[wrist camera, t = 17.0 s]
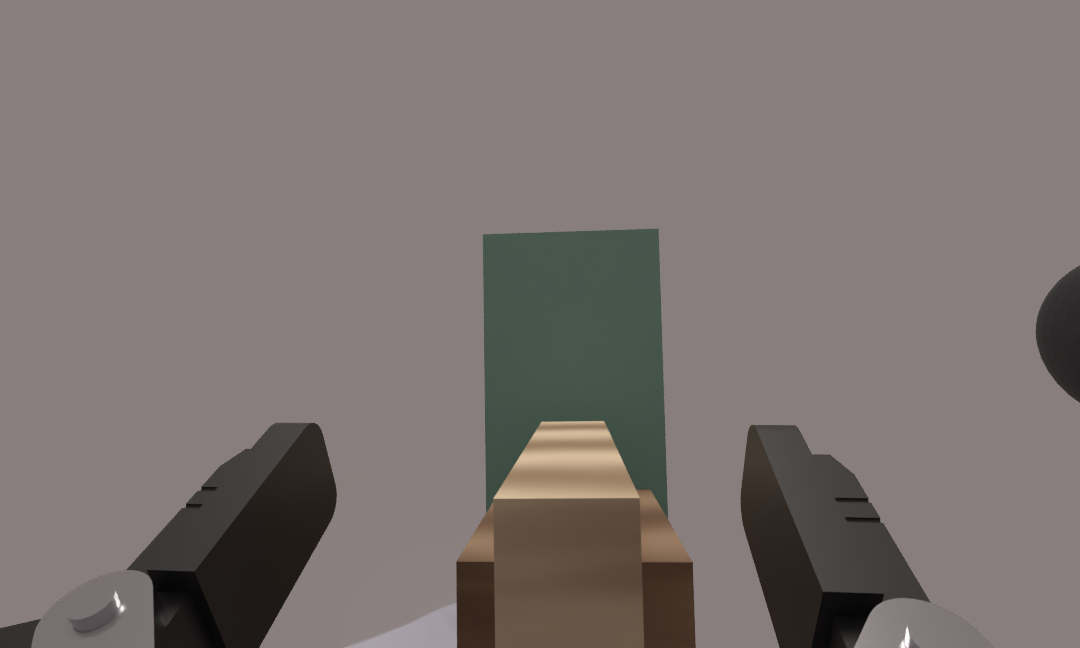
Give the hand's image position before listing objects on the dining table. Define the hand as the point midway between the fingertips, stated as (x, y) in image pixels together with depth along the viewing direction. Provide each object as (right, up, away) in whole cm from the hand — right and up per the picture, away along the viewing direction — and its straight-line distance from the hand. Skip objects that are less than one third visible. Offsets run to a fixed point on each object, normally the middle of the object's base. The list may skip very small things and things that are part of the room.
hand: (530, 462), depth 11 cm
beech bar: (+1, -6, +12) cm, 14 cm away
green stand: (+3, -28, +29) cm, 41 cm away
